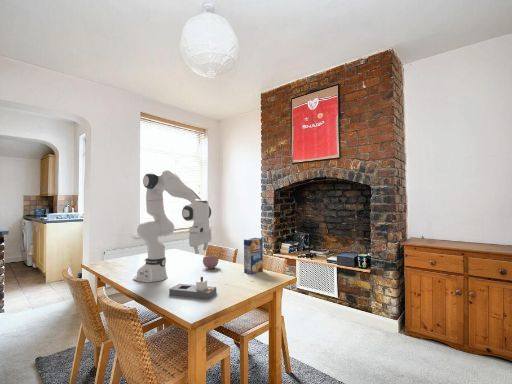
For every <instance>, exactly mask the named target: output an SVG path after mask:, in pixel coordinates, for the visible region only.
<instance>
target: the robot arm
mask: <svg viewBox="0 0 512 384" xmlns="http://www.w3.org/2000/svg"><path fill="white" fill-rule="evenodd" d="M142 183H143V186H144V188H146V193H145V194H146V195H145V205H146V206H145V207H146V213H147V214H148V215H149V216H151V217H152V218H153V220H154V221H152V220H151V221H146V222H142V223H139V224H138V226H137V228H136V233H137V235H138V237H139V238H140V239H142V240H143V241H144V243H145V245H146V246H147V247H146V248H147V258H145V259H144V262H145V264H143V265H142V266H141V267H139V268H138V269H137V272H136V276H134V277H132V280H133V281H138V282H143V283H147V284H148V283H152V282H153V283H154V282H160V281H163V280H166V279H168V274H167V270H166V269H167V268H166V262H167V258H166V246H165V244H163V243H162V242H160V240H159V238H161V237H167V236H170V235H172V234H173V233H174V230H175V225H174V222H173V221H172V220H170V219H169V218H168V217H167V214H166V212H165V207H164V206H165V205H164V196H163V193H164V192H165V191H166V192H167V193H168V194H169V196H171V197H174V198H179V199H184V200H186V201H189V202H190V204H187V205H185V206H183V208H182V209H181V216H182V218H183V219H184V220H185V221H186V222H193V224H192V226H190V227H189V229H188V232H189V236H188V243H189V244H188V245H189V246H190V247H192V248H193V250H194V254H195V255H197V254H199V253H200V250H199V246H201V245H203V248H202V250H203V251H207V250H208V245H209V243H210V242H212V238H213V237H212V230H211V227H210V220H209V219H210V218H211V215H212V209H211V207H210V205H209V202H208V200H206V199H202V198H200V197H199V196H198V193H196V192H195V191H194V190H193V189H191V188H190V187H189V186H187V185H186V184H185V183H184V182H183V181H182V180H181V179H180V177H179V176H178V175H177V174H176V173H175V172H174V171H173V170H171V169H166V170H164V171H162V172H159V173H158V172H157V173H156V172H155V173H154V172H149V173H146V174H145V175H144V176H143V178H142Z"/></svg>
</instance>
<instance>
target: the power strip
mask: <svg viewBox="0 0 512 384" xmlns="http://www.w3.org/2000/svg"><path fill="white" fill-rule="evenodd" d="M168 294H169V295H168V296H171V297H178V298H179V297H180V298H190V299H196V300H210V299H211V298H213V297H214V296H215V295H216V294H217V287H216V286H209V285H207V289H206V290H205V291H198V290H196V284H187V283H186V284H185V283H177V284H176V285H174V286H172V287H171V288H169V290H168Z"/></svg>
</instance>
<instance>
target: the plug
mask: <svg viewBox="0 0 512 384" xmlns="http://www.w3.org/2000/svg"><path fill="white" fill-rule="evenodd" d="M195 285H196V290H198V291H205V290H206V289H207V286H208V280H207V279H204V277H203V276H200V279H199V280H196V283H195Z"/></svg>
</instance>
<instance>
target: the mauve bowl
mask: <svg viewBox="0 0 512 384" xmlns="http://www.w3.org/2000/svg"><path fill="white" fill-rule="evenodd" d="M219 262H220V260H219V258H218V257H217V256H213V255H212V253H211V252H210V253H208V255H206V256H203V258H202V264H203V266H204V268H206V269H214V268H216V267H217V266H218V264H219Z"/></svg>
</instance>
